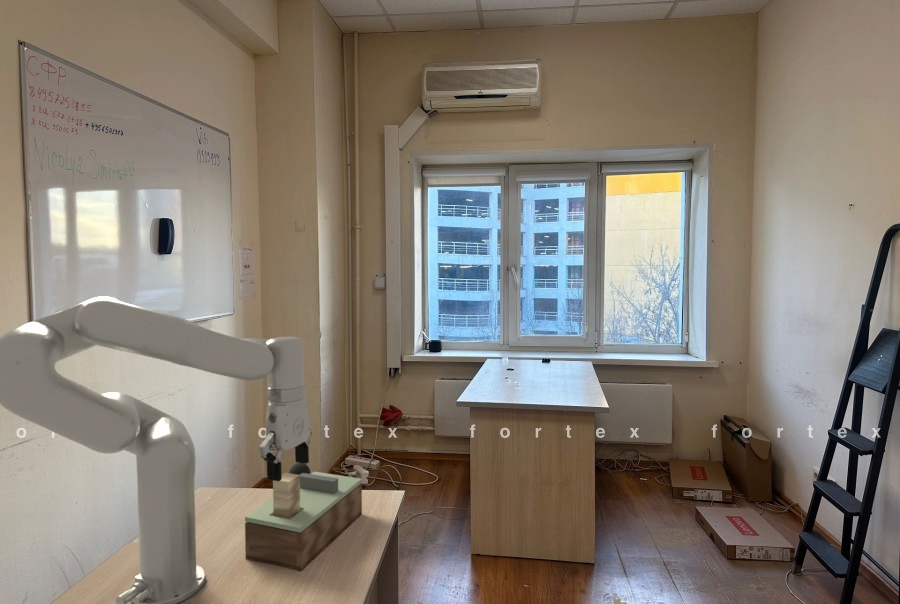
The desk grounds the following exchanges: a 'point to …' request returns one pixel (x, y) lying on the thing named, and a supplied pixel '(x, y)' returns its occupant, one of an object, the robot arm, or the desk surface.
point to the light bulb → (299, 469)
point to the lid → (308, 501)
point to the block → (286, 496)
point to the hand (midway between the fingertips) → (288, 470)
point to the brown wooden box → (302, 536)
